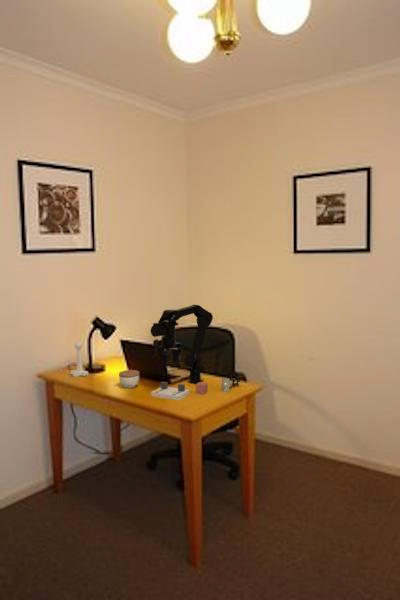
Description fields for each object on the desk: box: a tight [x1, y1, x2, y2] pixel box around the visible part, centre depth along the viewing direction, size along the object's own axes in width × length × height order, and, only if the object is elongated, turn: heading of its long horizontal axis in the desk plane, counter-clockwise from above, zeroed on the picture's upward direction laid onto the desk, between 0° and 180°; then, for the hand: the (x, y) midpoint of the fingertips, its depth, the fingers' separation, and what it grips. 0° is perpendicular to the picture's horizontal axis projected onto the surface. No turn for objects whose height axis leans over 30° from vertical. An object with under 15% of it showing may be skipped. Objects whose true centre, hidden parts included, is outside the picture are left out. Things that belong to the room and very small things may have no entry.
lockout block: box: [195, 381, 209, 396], centre depth 235 cm, size 4×4×5 cm
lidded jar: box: [118, 369, 140, 390], centre depth 247 cm, size 11×11×9 cm
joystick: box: [69, 340, 89, 378], centre depth 271 cm, size 11×8×20 cm
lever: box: [177, 383, 186, 391], centre depth 232 cm, size 2×3×3 cm, turn 63°
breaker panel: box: [150, 386, 191, 401], centre depth 233 cm, size 11×16×3 cm
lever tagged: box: [160, 381, 169, 389], centre depth 237 cm, size 2×3×3 cm, turn 63°
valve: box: [221, 373, 241, 393], centre depth 240 cm, size 7×7×12 cm
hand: (169, 364), depth 241 cm, fingers open, 9 cm apart
